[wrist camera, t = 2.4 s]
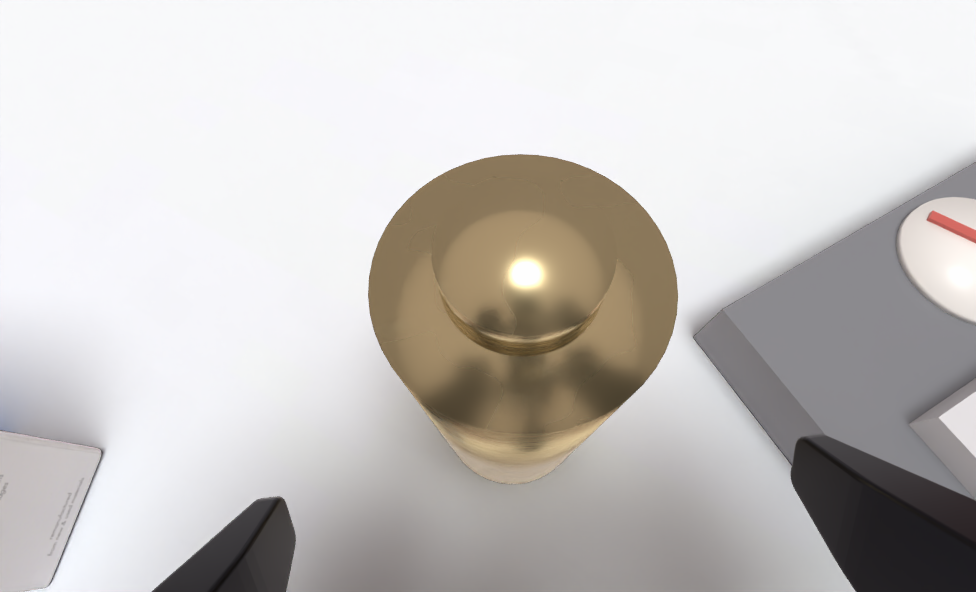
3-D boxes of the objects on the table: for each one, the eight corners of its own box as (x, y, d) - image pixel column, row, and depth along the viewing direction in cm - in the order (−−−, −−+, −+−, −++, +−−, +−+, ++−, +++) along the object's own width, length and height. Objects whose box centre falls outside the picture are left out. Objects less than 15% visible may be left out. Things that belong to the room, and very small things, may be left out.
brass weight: (485, 512, 18) (449, 500, 6) (422, 387, 20) (301, 196, 8) (605, 439, 19) (775, 306, 7) (533, 327, 21) (573, 74, 9)
